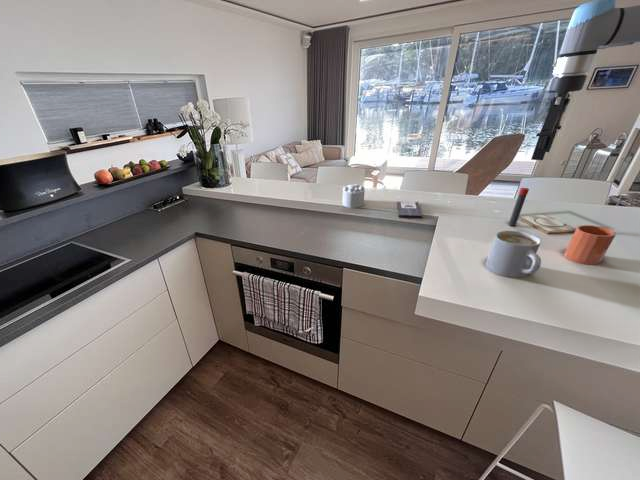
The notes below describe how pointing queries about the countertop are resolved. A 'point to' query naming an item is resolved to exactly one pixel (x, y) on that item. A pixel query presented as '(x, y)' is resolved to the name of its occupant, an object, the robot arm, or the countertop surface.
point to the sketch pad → (547, 224)
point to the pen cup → (589, 244)
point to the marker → (518, 206)
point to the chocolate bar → (409, 209)
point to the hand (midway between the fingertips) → (540, 155)
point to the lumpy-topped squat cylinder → (353, 196)
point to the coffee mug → (514, 254)
